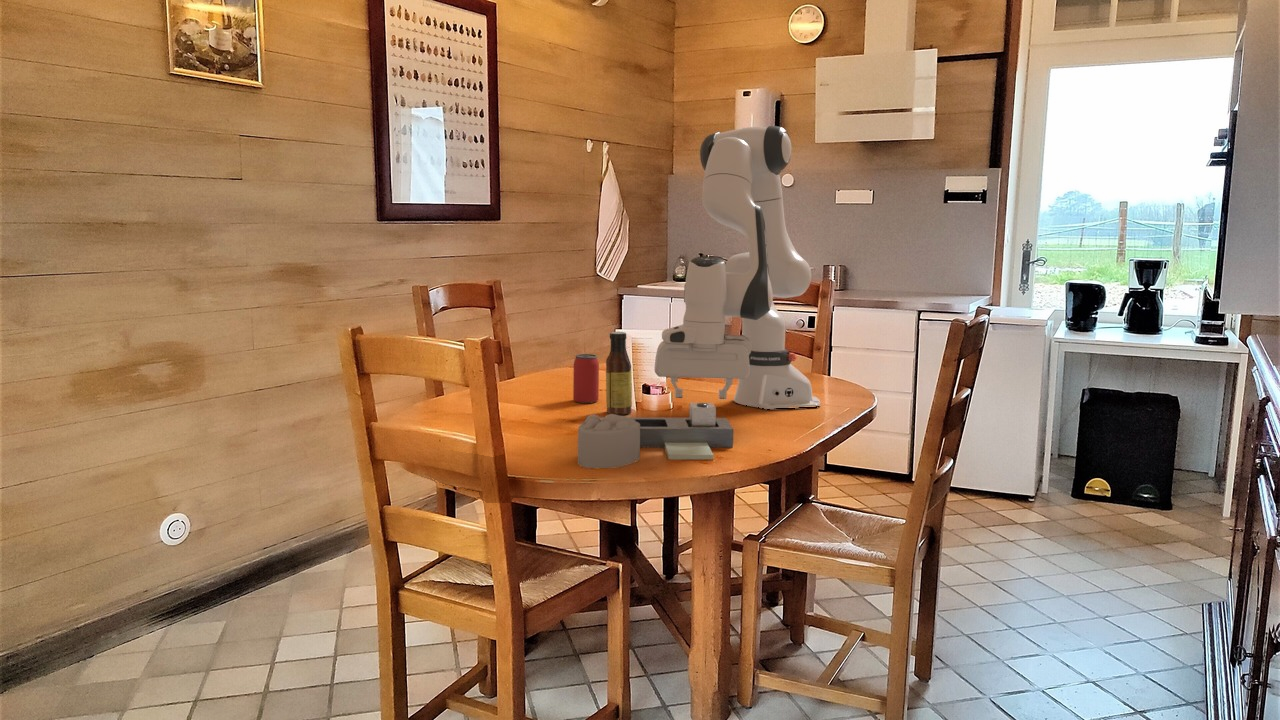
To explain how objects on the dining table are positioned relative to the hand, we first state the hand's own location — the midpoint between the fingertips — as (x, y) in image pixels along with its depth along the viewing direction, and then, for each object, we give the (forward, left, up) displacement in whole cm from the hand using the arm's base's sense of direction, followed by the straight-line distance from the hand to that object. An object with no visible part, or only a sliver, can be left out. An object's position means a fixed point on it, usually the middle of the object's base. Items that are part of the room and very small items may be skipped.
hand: (700, 398), depth 183 cm
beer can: (+24, -40, -10) cm, 48 cm away
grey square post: (-1, 0, -10) cm, 10 cm away
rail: (+5, 0, -10) cm, 11 cm away
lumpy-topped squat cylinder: (+20, +14, -10) cm, 27 cm away
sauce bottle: (+16, -27, -10) cm, 33 cm away
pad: (+3, +9, -10) cm, 14 cm away
